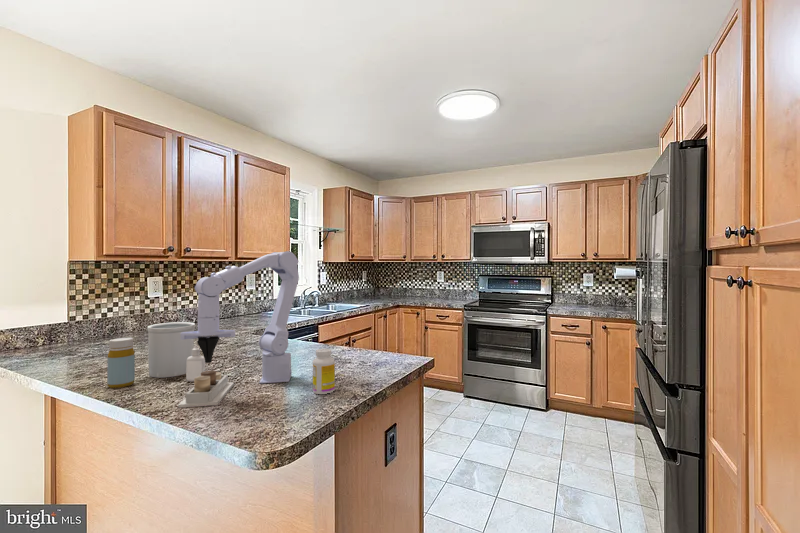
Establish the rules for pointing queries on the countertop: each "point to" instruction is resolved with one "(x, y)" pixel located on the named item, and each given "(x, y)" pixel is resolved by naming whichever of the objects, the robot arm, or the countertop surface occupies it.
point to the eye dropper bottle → (194, 364)
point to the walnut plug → (212, 376)
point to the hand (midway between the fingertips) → (208, 362)
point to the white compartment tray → (208, 394)
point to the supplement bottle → (323, 372)
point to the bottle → (121, 363)
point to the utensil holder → (169, 348)
